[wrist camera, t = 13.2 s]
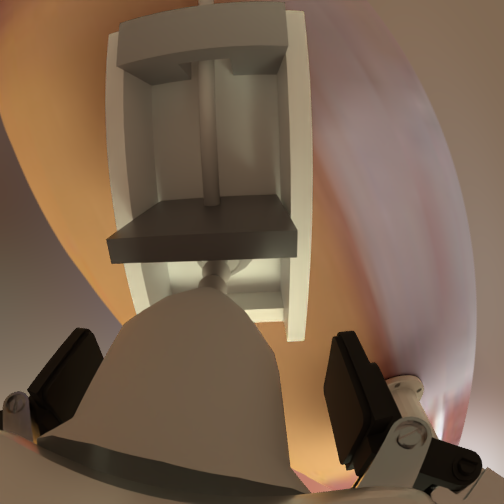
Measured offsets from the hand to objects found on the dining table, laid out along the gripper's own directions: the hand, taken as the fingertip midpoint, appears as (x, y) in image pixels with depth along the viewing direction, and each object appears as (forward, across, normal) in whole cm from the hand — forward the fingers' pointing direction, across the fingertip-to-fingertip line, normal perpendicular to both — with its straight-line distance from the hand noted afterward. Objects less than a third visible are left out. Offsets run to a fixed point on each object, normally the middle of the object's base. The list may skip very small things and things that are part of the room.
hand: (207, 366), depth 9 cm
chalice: (+12, +1, -1) cm, 12 cm away
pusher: (+12, +1, -12) cm, 16 cm away
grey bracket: (+13, +1, -6) cm, 14 cm away
